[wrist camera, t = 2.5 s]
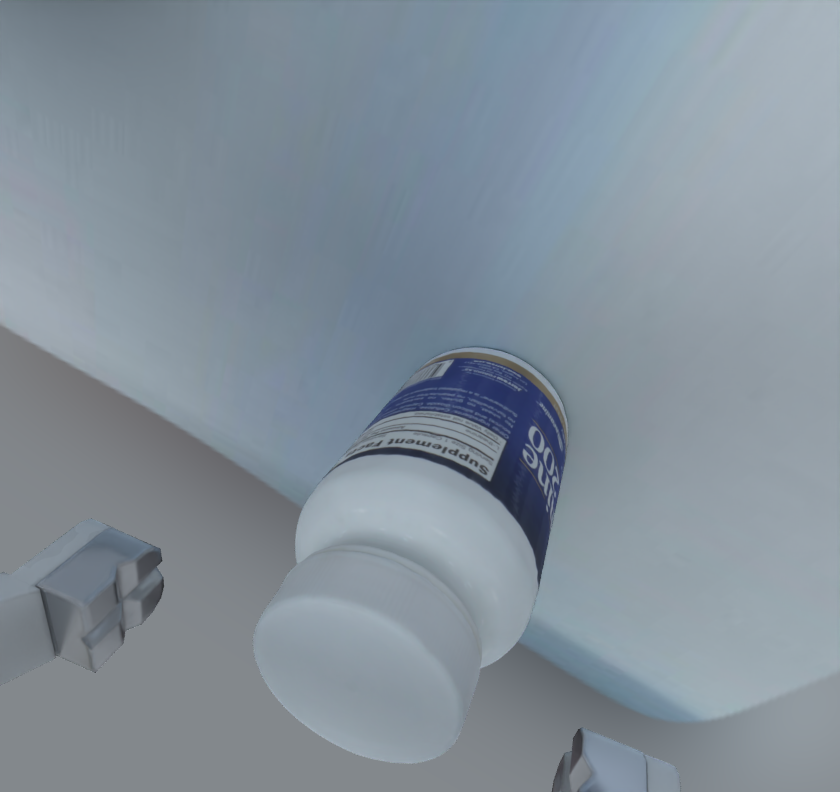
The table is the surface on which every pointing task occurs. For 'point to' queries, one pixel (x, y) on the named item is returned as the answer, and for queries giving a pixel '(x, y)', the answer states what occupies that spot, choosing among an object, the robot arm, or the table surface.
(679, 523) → the table surface
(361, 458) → the pill bottle
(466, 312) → the table surface
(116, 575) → the robot arm
